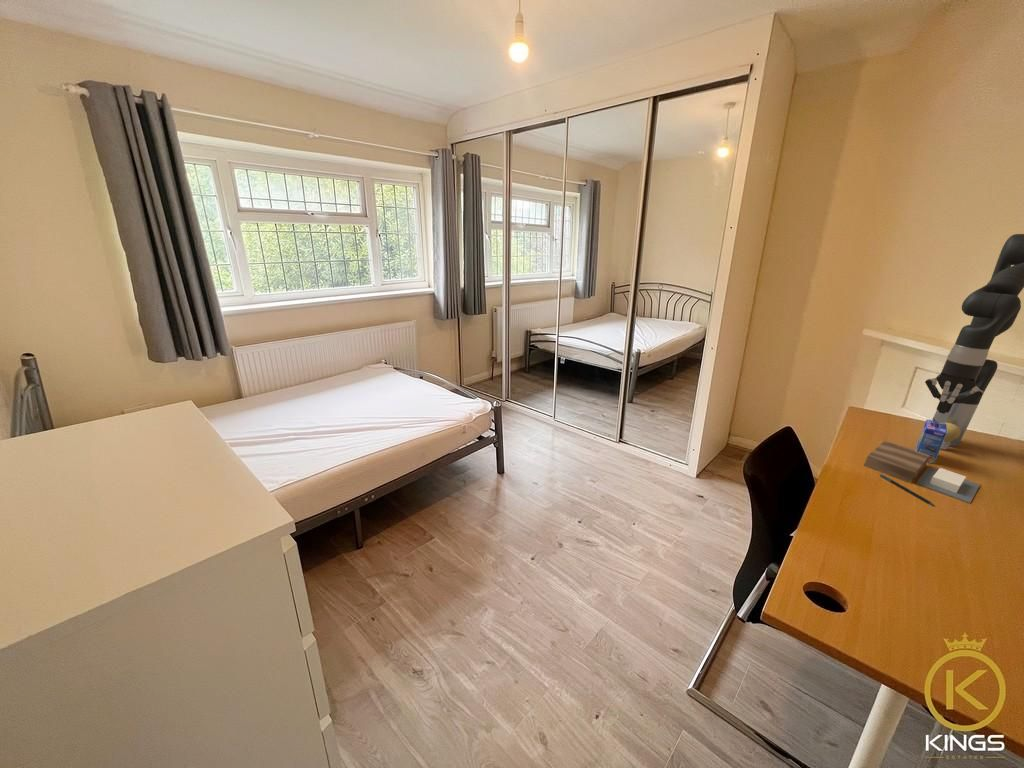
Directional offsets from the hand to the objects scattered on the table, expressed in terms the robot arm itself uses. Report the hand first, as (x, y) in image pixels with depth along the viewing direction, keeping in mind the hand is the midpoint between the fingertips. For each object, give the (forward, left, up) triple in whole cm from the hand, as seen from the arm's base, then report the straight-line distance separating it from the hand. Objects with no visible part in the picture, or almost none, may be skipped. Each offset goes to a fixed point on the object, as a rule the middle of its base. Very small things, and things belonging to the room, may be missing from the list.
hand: (941, 412), depth 126 cm
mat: (+2, +8, -22) cm, 23 cm away
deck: (+2, -5, -22) cm, 22 cm away
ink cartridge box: (-15, -1, -22) cm, 27 cm away
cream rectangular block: (+2, +8, -20) cm, 22 cm away
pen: (+17, +1, -22) cm, 28 cm away
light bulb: (-28, +1, -22) cm, 36 cm away
